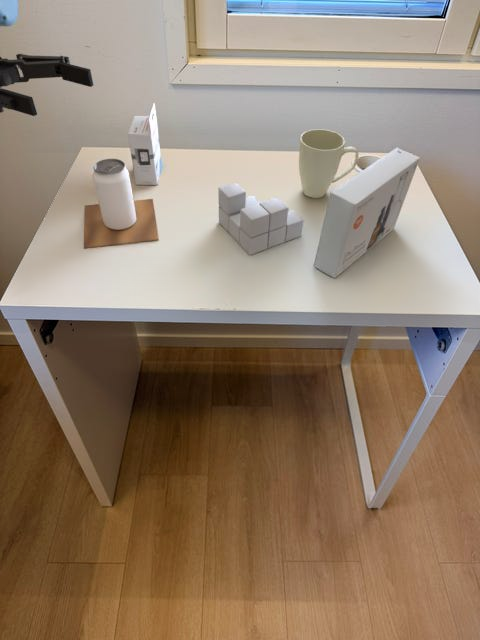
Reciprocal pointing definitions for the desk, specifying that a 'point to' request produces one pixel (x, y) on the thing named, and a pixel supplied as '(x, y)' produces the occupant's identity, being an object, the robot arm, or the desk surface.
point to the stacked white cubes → (256, 219)
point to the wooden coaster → (104, 236)
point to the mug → (321, 160)
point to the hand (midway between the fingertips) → (63, 91)
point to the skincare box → (364, 211)
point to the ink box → (145, 148)
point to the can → (114, 194)
